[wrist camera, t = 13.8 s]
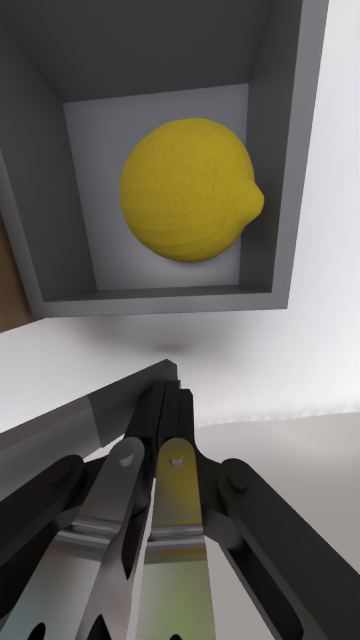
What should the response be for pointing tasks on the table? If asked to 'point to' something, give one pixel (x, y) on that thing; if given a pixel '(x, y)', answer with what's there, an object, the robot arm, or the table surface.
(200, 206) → the lemon
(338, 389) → the table surface
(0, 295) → the pedestal
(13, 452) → the tray
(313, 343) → the table surface
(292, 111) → the bin
